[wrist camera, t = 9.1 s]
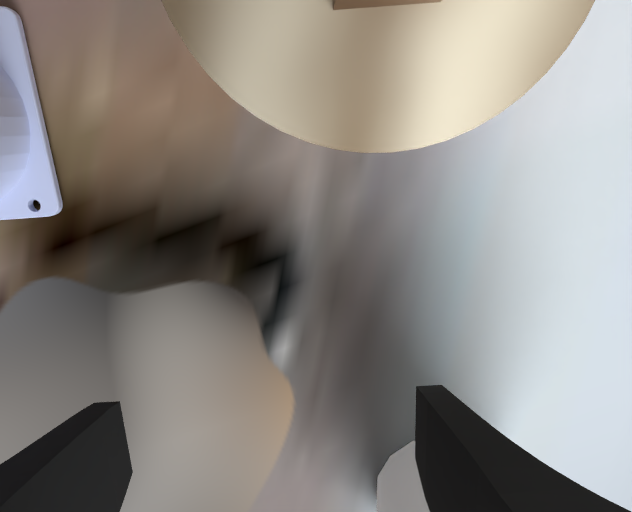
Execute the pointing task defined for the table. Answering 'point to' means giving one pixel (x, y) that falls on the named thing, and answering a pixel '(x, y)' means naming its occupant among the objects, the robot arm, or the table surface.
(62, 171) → the table surface
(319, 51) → the lid
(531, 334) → the table surface
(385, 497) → the foam cup
